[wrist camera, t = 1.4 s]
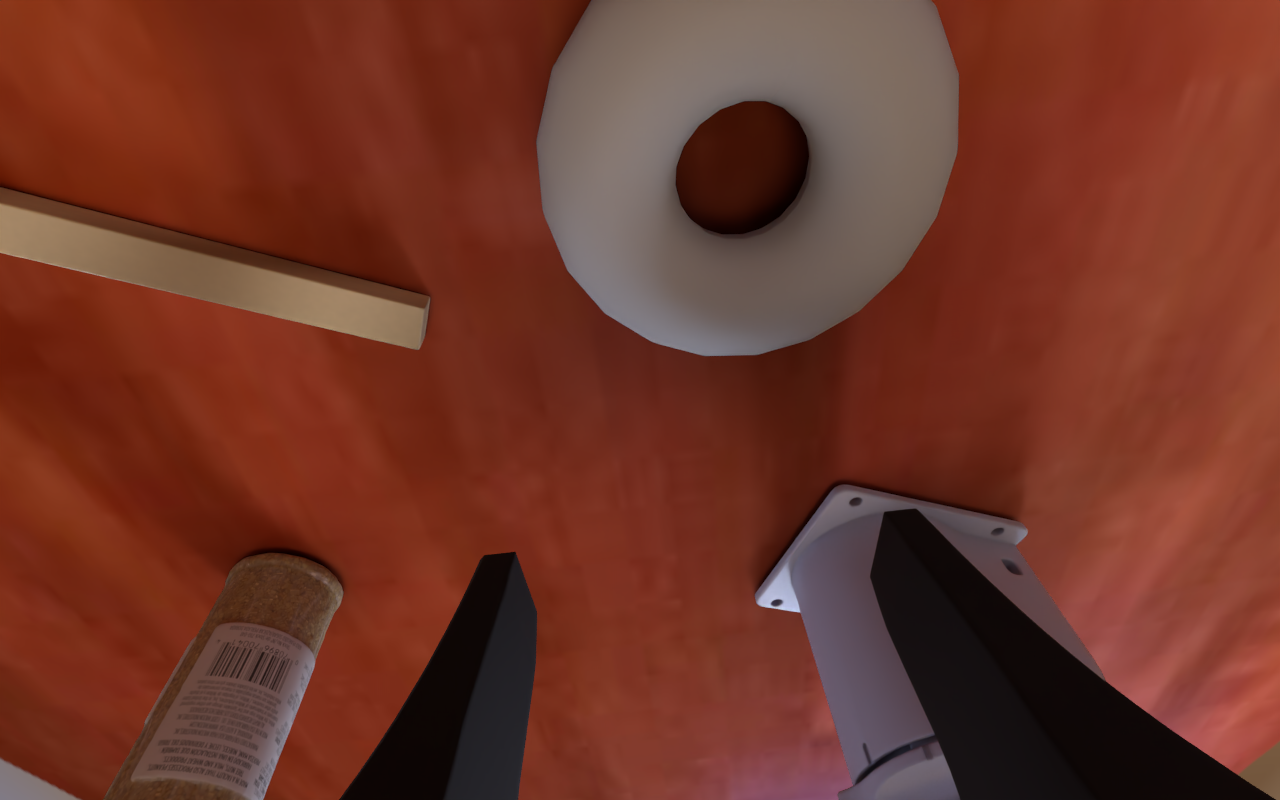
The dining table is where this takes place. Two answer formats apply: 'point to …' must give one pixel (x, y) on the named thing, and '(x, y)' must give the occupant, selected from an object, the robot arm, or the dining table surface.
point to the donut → (691, 93)
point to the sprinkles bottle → (235, 686)
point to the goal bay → (207, 270)
